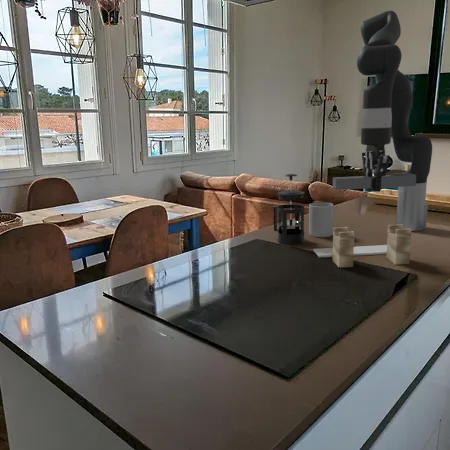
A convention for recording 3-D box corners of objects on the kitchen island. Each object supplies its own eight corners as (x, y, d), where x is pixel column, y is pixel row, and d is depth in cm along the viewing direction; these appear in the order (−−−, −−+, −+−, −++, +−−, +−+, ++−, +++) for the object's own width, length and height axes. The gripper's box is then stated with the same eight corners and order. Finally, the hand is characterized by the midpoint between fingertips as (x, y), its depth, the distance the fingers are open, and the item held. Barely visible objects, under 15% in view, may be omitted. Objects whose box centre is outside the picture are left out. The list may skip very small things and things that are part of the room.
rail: (410, 184, 118) (410, 173, 117) (415, 185, 115) (416, 174, 114) (332, 188, 117) (332, 177, 116) (335, 190, 114) (336, 179, 114)
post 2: (399, 257, 125) (401, 224, 122) (409, 263, 119) (411, 229, 116) (386, 257, 124) (388, 224, 122) (395, 264, 119) (397, 229, 116)
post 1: (346, 259, 124) (347, 226, 122) (353, 266, 118) (354, 232, 116) (332, 260, 124) (333, 227, 121) (338, 267, 118) (339, 232, 116)
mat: (393, 246, 135) (394, 244, 135) (404, 252, 128) (404, 251, 128) (313, 250, 134) (313, 248, 134) (319, 257, 127) (319, 255, 127)
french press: (311, 239, 146) (312, 173, 140) (298, 246, 139) (298, 176, 133) (282, 235, 153) (281, 171, 147) (267, 241, 146) (266, 175, 140)
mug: (333, 237, 148) (334, 206, 145) (308, 237, 149) (309, 206, 147) (331, 229, 159) (332, 200, 156) (308, 228, 161) (309, 200, 158)
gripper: (402, 125, 106) (398, 194, 110) (379, 125, 119) (376, 186, 123) (372, 127, 105) (370, 195, 109) (353, 126, 119) (351, 187, 123)
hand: (373, 190), depth 116 cm, fingers closed on rail, 3 cm apart
